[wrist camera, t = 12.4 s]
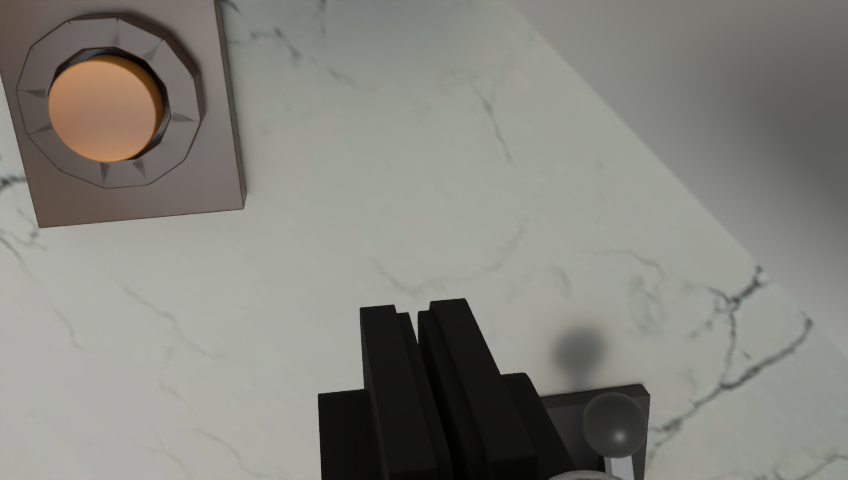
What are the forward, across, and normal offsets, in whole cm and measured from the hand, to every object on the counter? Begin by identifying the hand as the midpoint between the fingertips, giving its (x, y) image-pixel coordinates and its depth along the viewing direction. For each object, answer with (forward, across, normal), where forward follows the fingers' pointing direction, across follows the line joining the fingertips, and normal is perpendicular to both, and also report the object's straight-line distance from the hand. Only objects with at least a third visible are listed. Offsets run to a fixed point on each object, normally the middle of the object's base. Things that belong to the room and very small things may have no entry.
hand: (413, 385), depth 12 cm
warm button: (+22, +9, 0) cm, 24 cm away
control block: (+26, +9, 0) cm, 27 cm away
